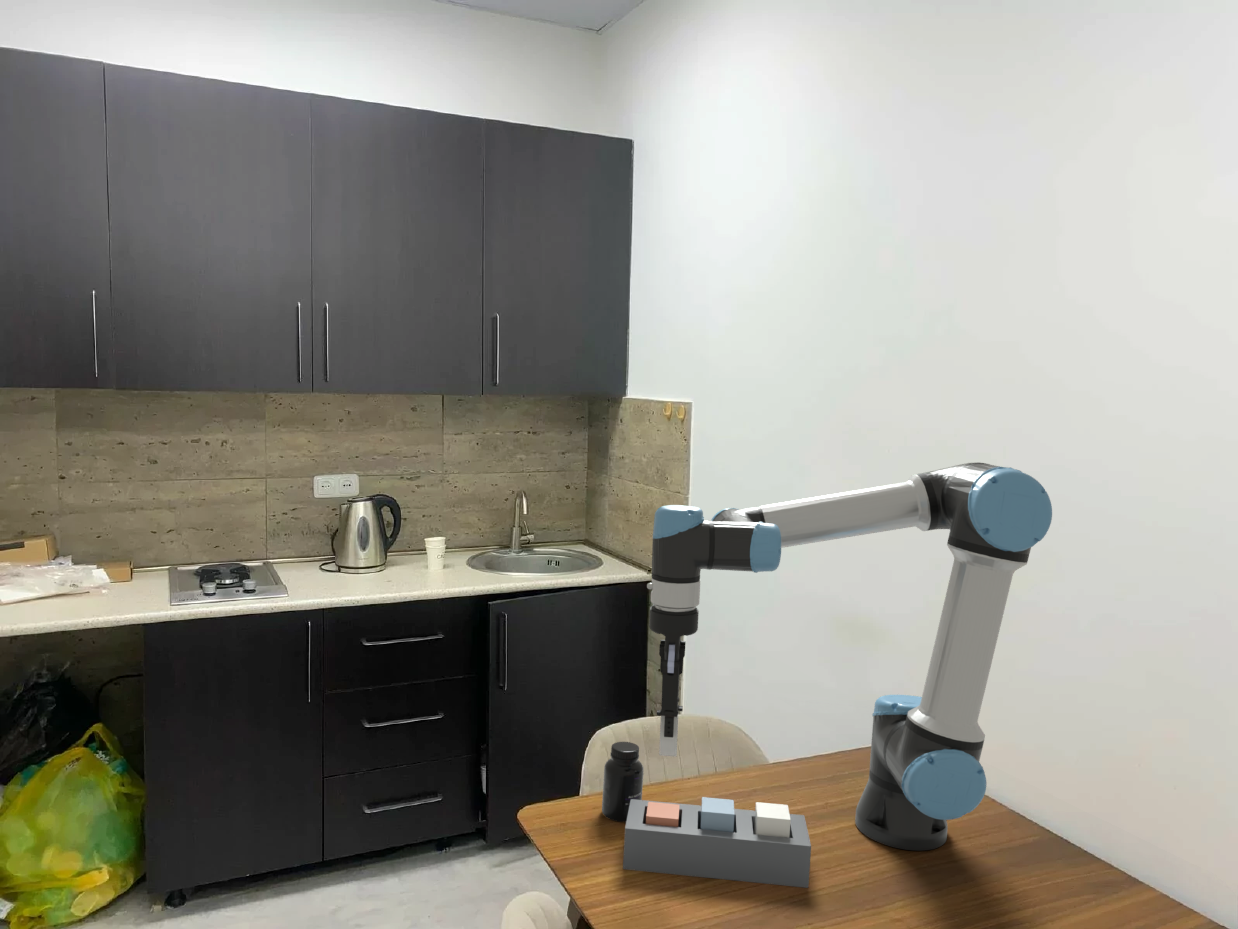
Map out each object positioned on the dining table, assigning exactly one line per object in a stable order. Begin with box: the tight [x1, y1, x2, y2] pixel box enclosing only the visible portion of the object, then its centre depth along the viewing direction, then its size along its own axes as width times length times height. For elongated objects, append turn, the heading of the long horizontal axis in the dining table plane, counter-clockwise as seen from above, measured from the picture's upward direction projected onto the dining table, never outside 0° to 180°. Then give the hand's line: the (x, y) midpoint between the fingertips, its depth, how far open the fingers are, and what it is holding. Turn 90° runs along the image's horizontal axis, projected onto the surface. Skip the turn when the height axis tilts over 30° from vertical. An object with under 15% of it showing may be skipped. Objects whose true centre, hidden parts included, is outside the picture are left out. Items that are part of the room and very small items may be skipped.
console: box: [622, 799, 812, 889], centre depth 141 cm, size 28×10×6 cm, turn 84°
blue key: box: [700, 796, 735, 832], centre depth 141 cm, size 5×5×5 cm
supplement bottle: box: [601, 741, 644, 823], centre depth 155 cm, size 7×7×12 cm
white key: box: [754, 801, 791, 838], centre depth 140 cm, size 5×5×5 cm
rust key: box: [646, 801, 679, 827], centre depth 142 cm, size 5×5×5 cm
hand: (667, 753), depth 141 cm, fingers closed
